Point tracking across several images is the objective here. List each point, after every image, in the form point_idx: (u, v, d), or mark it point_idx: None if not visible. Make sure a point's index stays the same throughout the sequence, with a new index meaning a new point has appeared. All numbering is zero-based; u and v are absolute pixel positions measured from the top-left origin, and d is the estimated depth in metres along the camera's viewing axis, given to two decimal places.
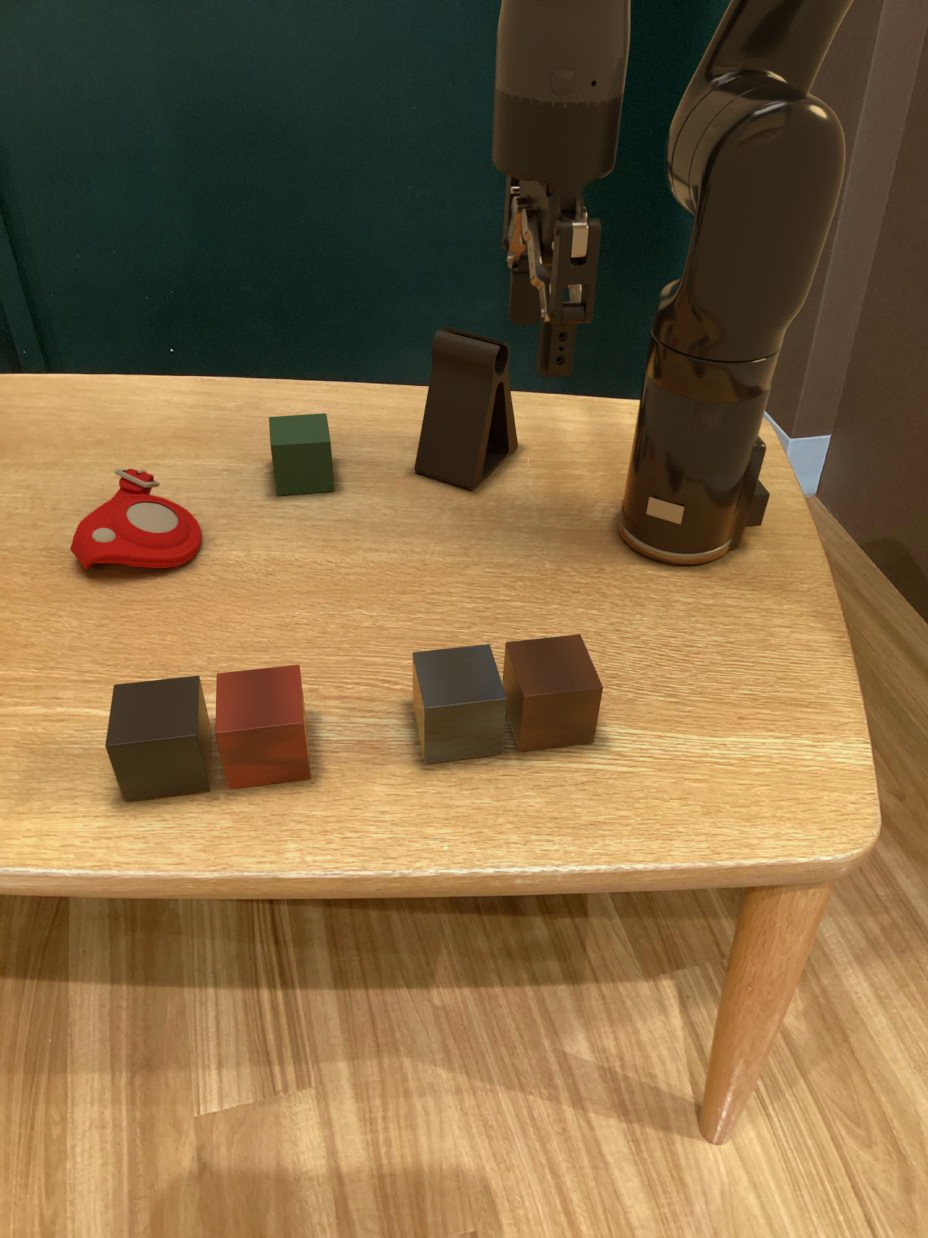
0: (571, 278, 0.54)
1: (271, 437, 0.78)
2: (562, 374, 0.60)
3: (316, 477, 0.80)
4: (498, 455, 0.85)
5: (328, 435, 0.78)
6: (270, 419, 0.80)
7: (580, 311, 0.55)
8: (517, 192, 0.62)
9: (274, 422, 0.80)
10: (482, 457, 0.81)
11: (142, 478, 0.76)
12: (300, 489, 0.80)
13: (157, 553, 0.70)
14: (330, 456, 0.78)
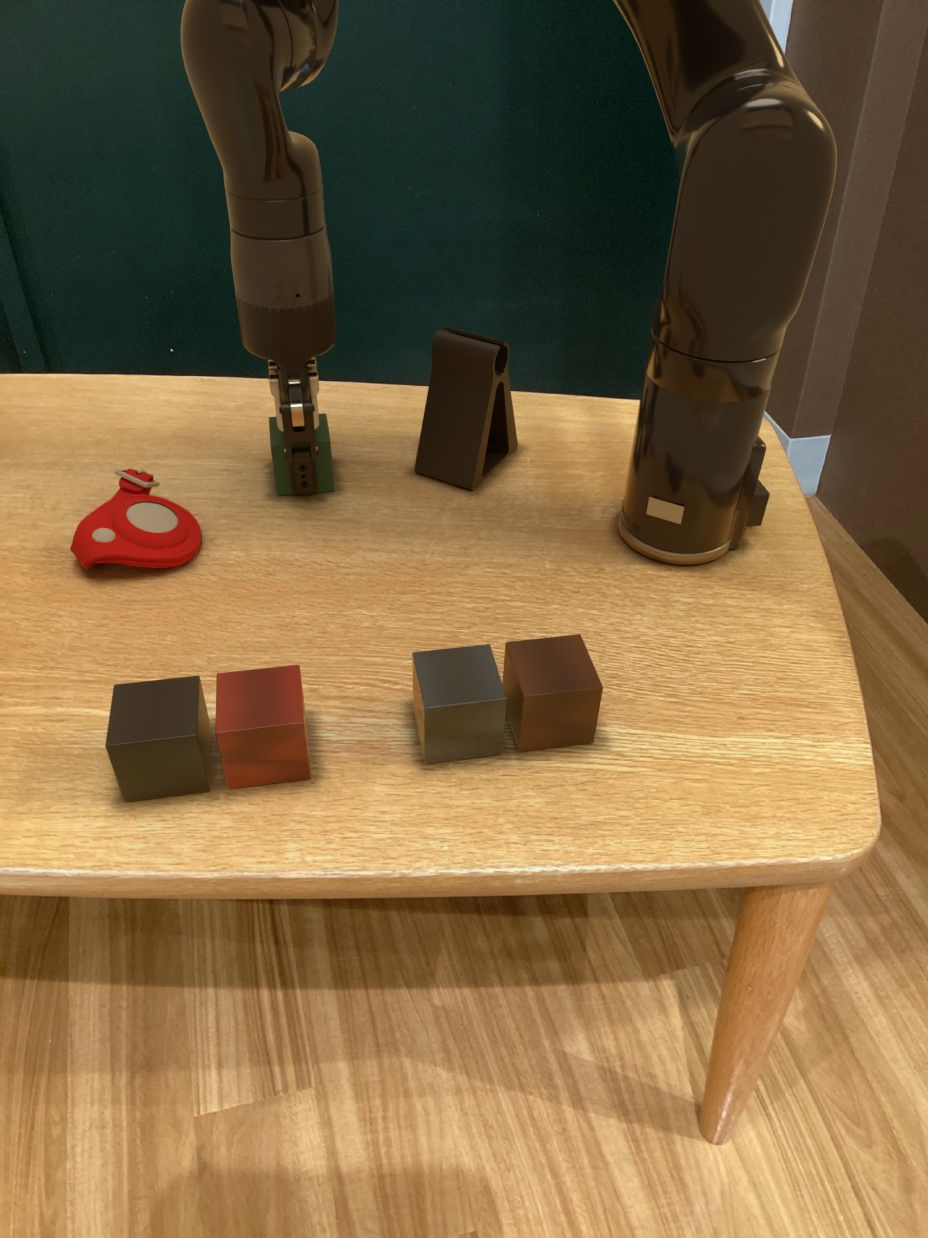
0: (295, 439, 0.73)
1: (271, 437, 0.78)
2: (310, 492, 0.80)
3: None
4: (498, 455, 0.85)
5: (328, 435, 0.78)
6: (270, 419, 0.80)
7: (307, 456, 0.75)
8: None
9: (274, 422, 0.80)
10: (482, 457, 0.81)
11: (142, 478, 0.76)
12: None
13: (157, 553, 0.70)
14: (330, 456, 0.78)
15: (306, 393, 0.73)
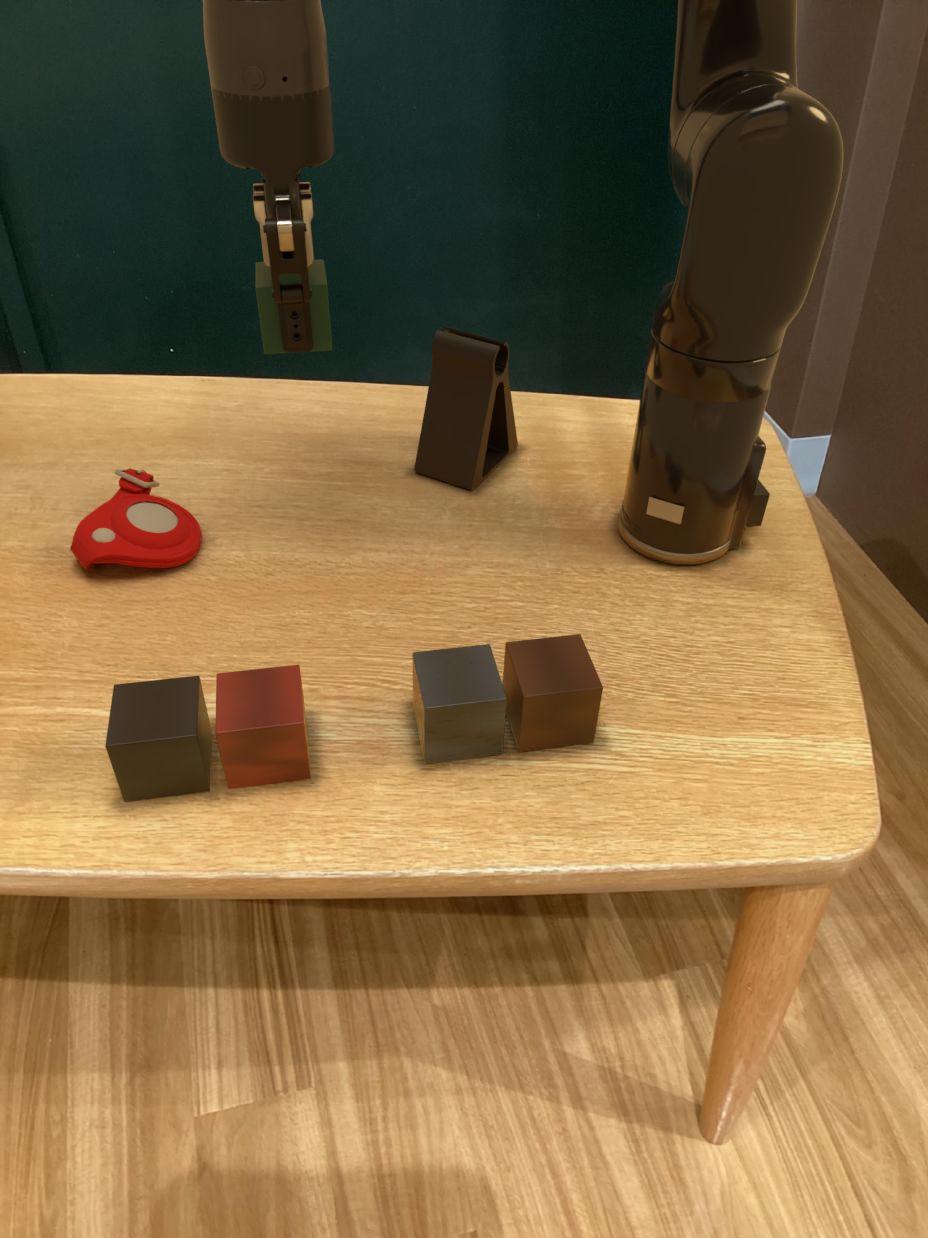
0: (284, 269, 0.60)
1: (257, 280, 0.65)
2: (304, 349, 0.67)
3: None
4: (498, 455, 0.85)
5: (324, 278, 0.66)
6: (257, 264, 0.68)
7: (298, 294, 0.62)
8: None
9: (261, 266, 0.67)
10: (482, 457, 0.81)
11: (142, 478, 0.76)
12: None
13: (157, 553, 0.70)
14: (327, 304, 0.66)
15: (297, 214, 0.61)
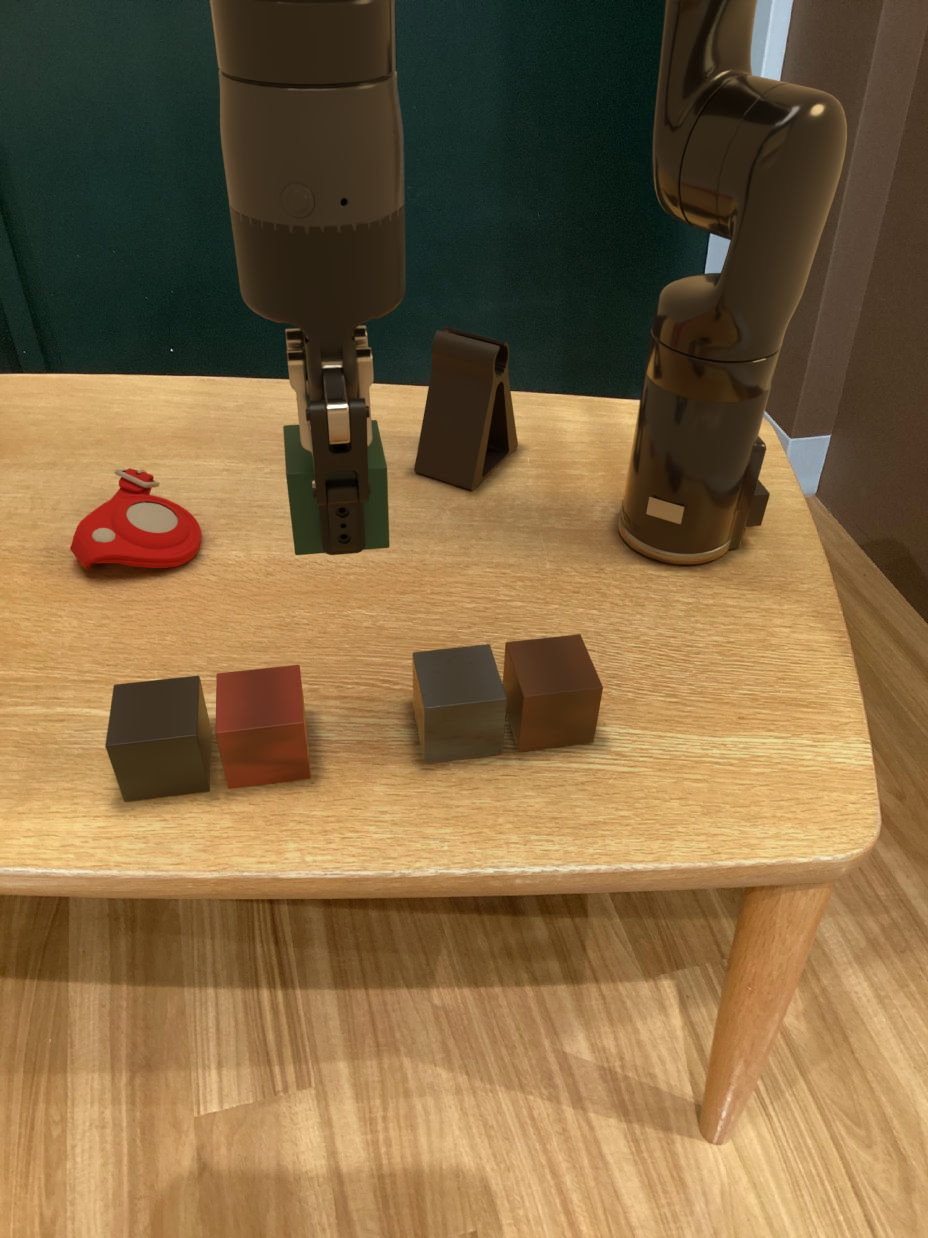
0: (334, 466, 0.41)
1: (287, 460, 0.46)
2: (353, 550, 0.48)
3: None
4: (498, 455, 0.85)
5: (383, 457, 0.47)
6: (285, 429, 0.49)
7: (351, 494, 0.43)
8: None
9: (292, 434, 0.48)
10: (482, 457, 0.81)
11: (142, 478, 0.76)
12: None
13: (157, 553, 0.70)
14: (385, 492, 0.47)
15: (353, 386, 0.41)
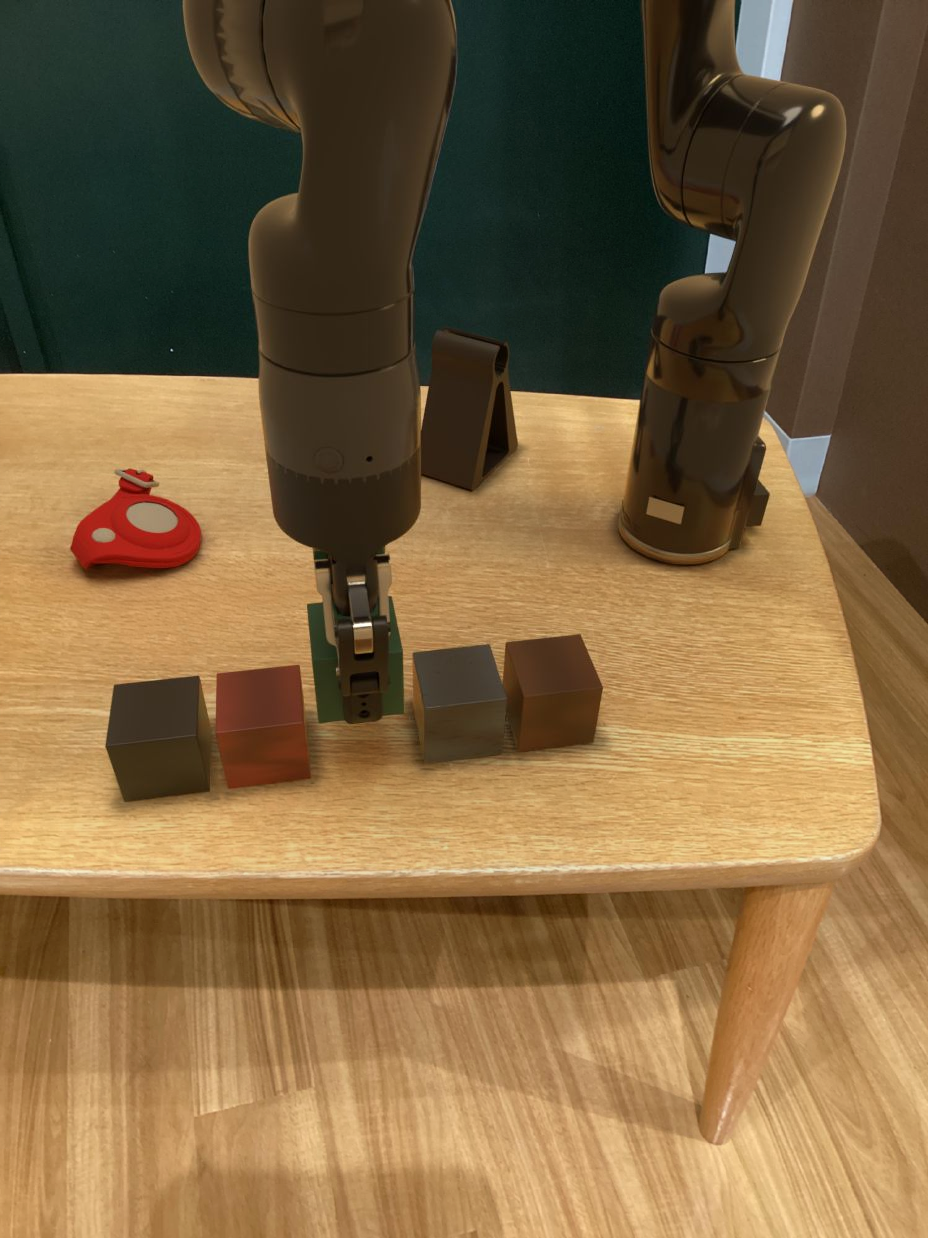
0: (358, 669, 0.46)
1: (312, 645, 0.51)
2: None
3: None
4: (498, 455, 0.85)
5: (398, 640, 0.52)
6: (309, 609, 0.53)
7: (373, 687, 0.48)
8: None
9: (315, 614, 0.53)
10: (482, 457, 0.81)
11: (142, 478, 0.76)
12: None
13: (157, 553, 0.70)
14: (401, 671, 0.52)
15: (375, 597, 0.46)
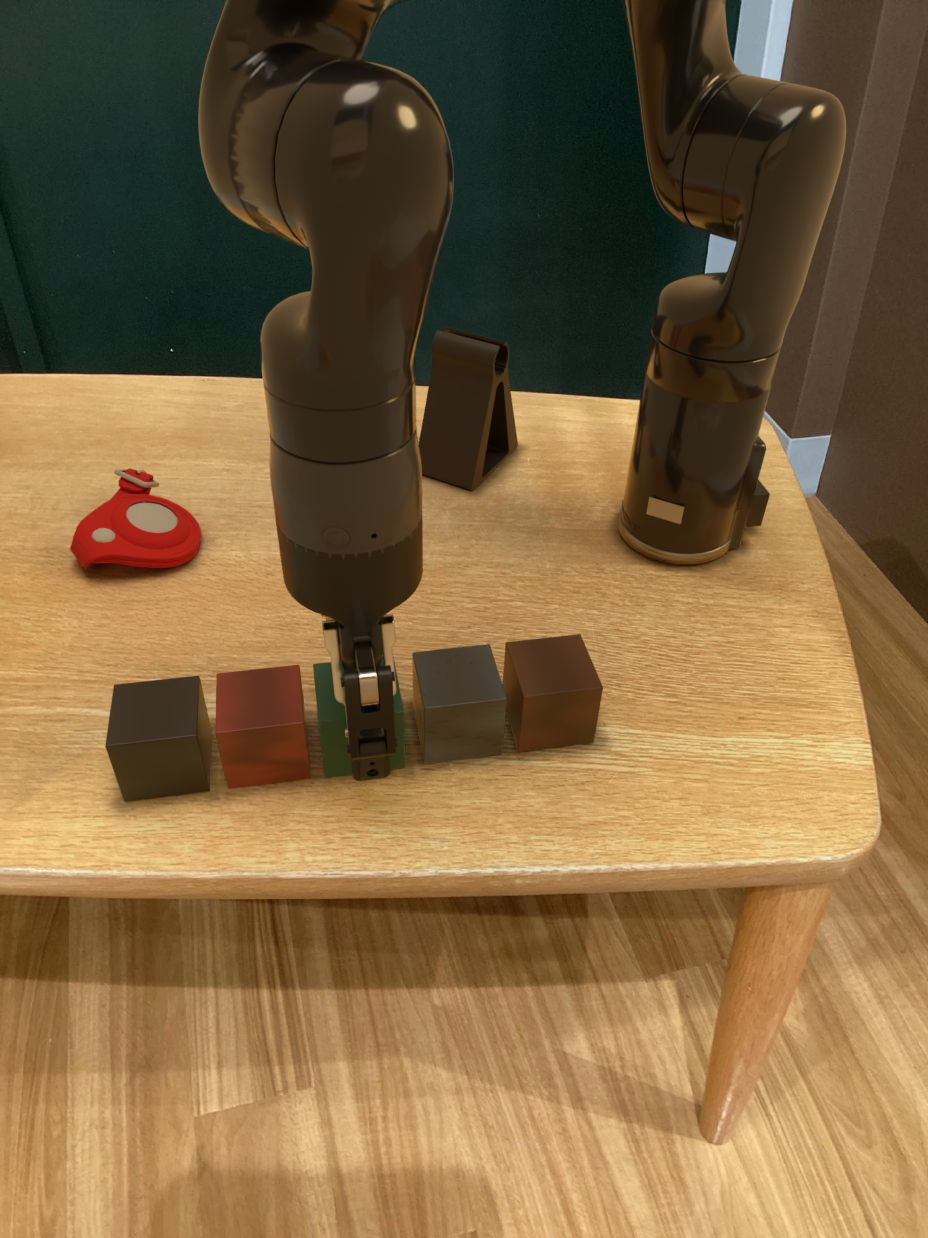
0: (365, 724, 0.48)
1: (319, 706, 0.54)
2: None
3: None
4: (498, 455, 0.85)
5: (400, 700, 0.55)
6: (315, 669, 0.56)
7: (381, 749, 0.49)
8: None
9: (321, 675, 0.56)
10: (482, 457, 0.81)
11: (142, 478, 0.76)
12: None
13: (157, 553, 0.70)
14: (402, 729, 0.55)
15: (380, 658, 0.49)
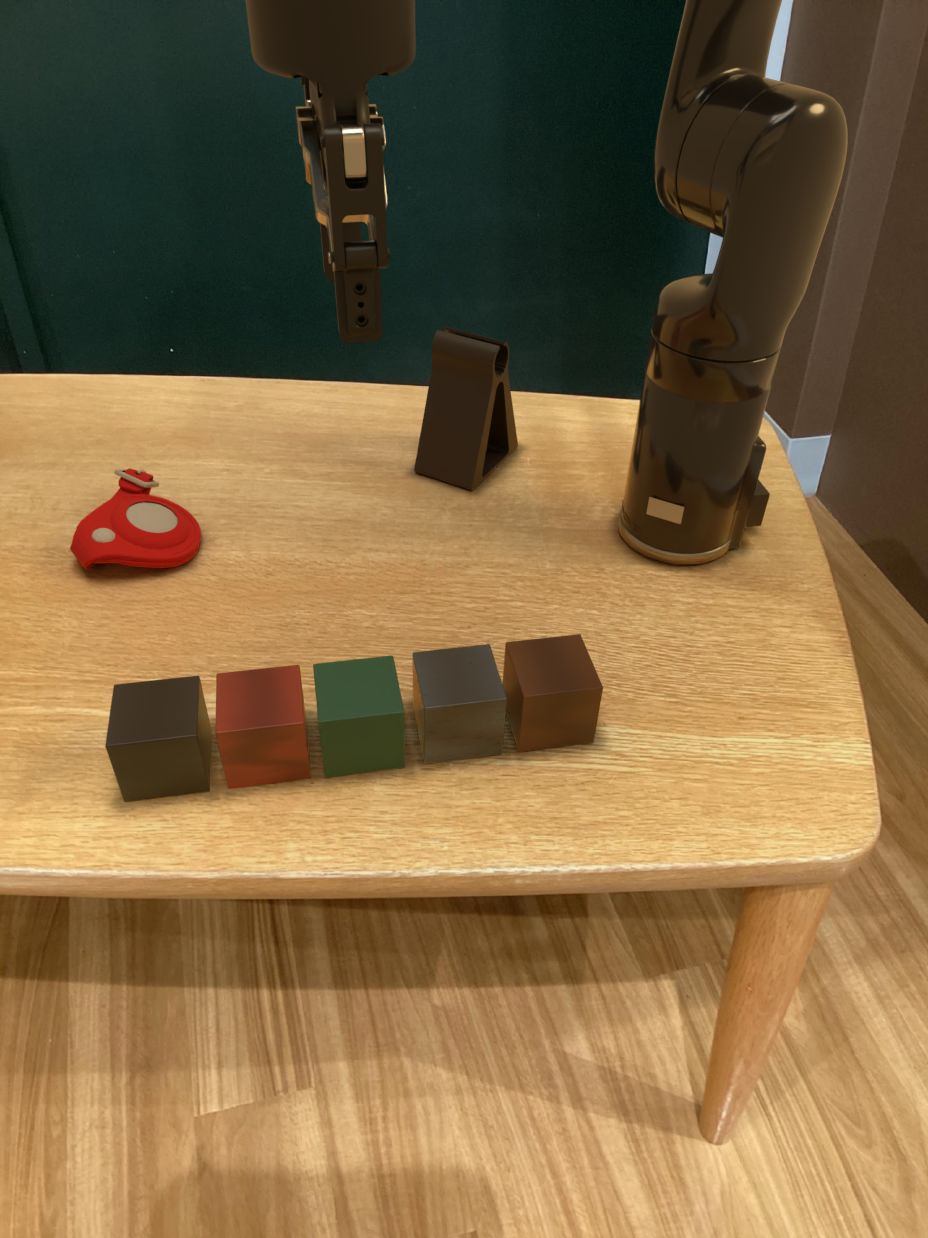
0: (351, 207, 0.40)
1: (319, 706, 0.54)
2: (370, 339, 0.47)
3: (380, 754, 0.56)
4: (498, 455, 0.85)
5: (400, 700, 0.55)
6: (315, 669, 0.56)
7: (370, 252, 0.42)
8: None
9: (321, 675, 0.56)
10: (482, 457, 0.81)
11: (142, 478, 0.76)
12: (358, 769, 0.56)
13: (157, 553, 0.70)
14: (402, 729, 0.55)
15: None
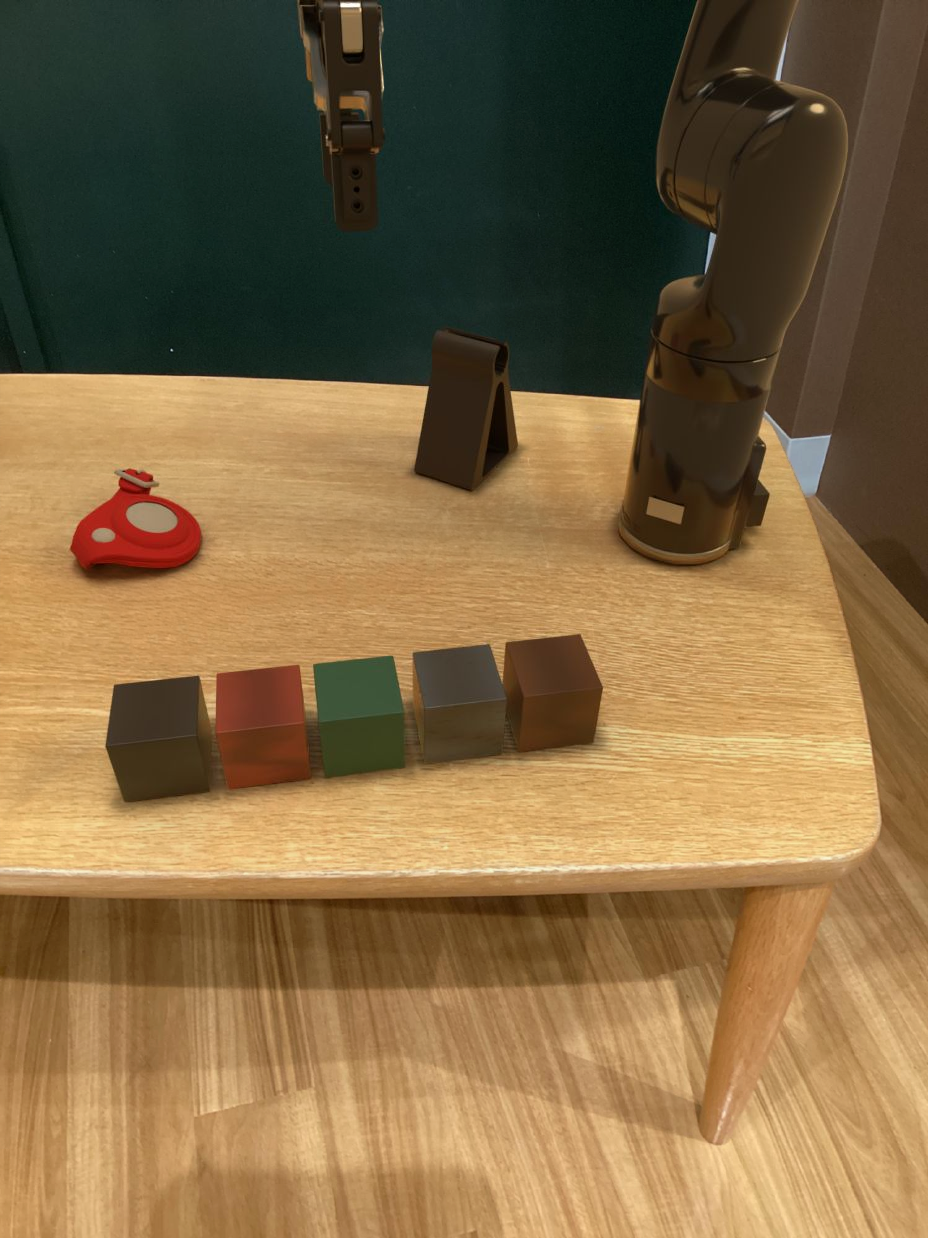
0: (347, 82, 0.42)
1: (319, 706, 0.54)
2: (366, 227, 0.48)
3: (380, 754, 0.56)
4: (498, 455, 0.85)
5: (400, 700, 0.55)
6: (315, 669, 0.56)
7: (366, 130, 0.43)
8: None
9: (321, 675, 0.56)
10: (482, 457, 0.81)
11: (141, 478, 0.76)
12: (358, 769, 0.56)
13: (157, 553, 0.70)
14: (402, 729, 0.55)
15: None
